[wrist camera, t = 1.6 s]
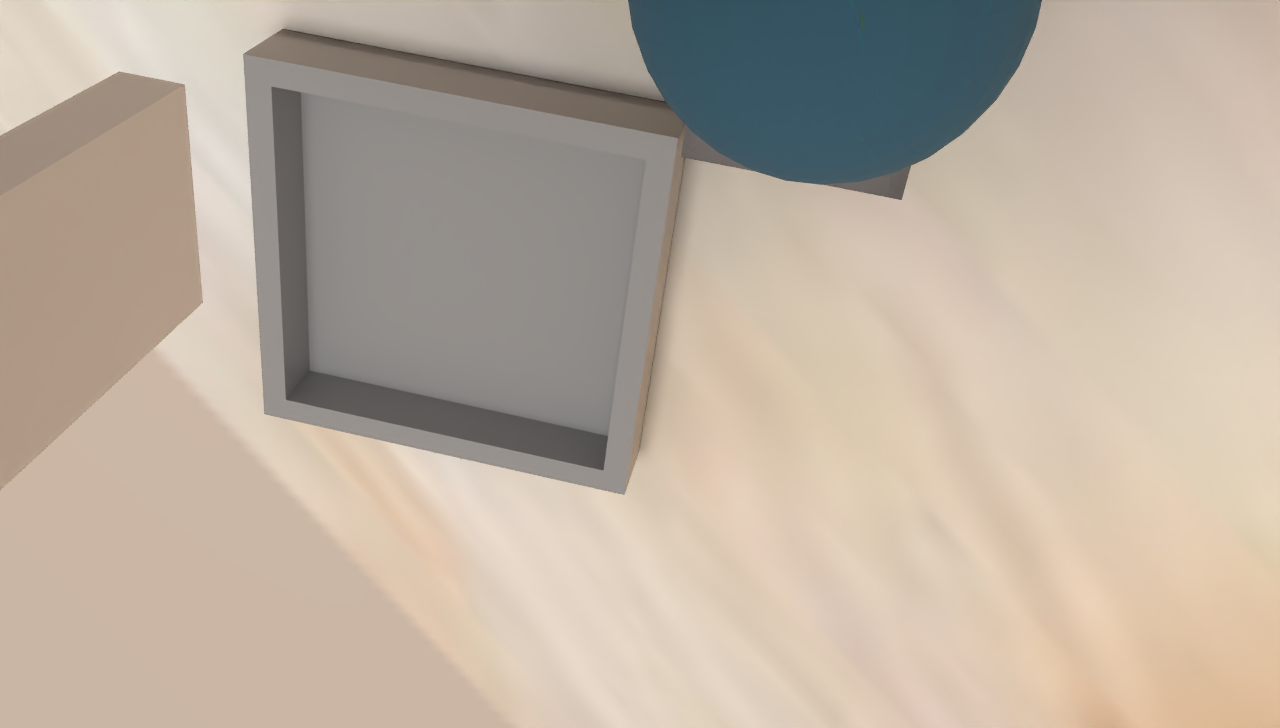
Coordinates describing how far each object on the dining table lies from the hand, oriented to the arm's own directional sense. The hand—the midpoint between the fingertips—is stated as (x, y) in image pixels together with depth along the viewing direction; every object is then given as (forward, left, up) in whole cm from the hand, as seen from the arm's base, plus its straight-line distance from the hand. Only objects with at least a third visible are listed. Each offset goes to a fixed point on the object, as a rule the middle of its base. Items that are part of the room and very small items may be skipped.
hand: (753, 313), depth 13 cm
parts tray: (+12, -10, -22) cm, 27 cm away
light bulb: (0, 0, -22) cm, 22 cm away
